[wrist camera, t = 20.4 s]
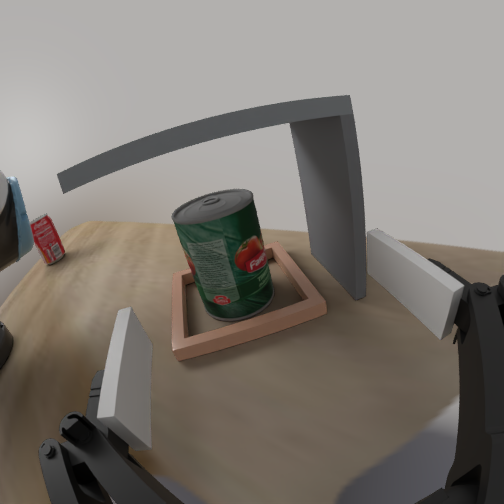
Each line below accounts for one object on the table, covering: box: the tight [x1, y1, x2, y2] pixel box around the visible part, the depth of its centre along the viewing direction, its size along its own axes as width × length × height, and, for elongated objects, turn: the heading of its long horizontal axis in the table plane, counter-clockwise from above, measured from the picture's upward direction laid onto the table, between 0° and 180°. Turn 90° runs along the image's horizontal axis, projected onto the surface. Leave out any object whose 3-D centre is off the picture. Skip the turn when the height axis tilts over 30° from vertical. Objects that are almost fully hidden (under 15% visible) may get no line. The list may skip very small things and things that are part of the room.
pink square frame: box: [172, 241, 327, 361], centre depth 30 cm, size 14×14×2 cm
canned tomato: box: [172, 189, 274, 321], centre depth 28 cm, size 8×8×11 cm
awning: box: [57, 95, 366, 300], centre depth 26 cm, size 22×12×18 cm, turn 104°
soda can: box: [30, 213, 65, 265], centre depth 57 cm, size 7×7×12 cm
